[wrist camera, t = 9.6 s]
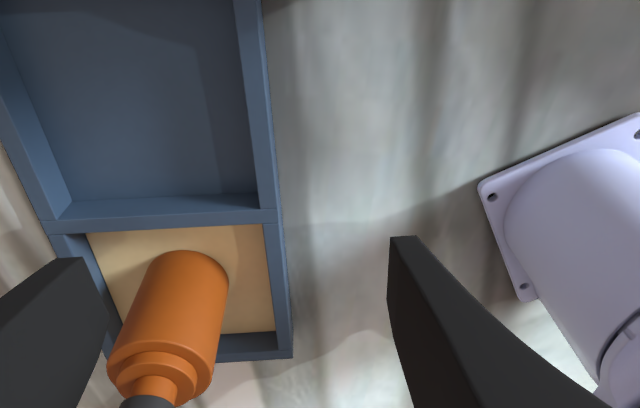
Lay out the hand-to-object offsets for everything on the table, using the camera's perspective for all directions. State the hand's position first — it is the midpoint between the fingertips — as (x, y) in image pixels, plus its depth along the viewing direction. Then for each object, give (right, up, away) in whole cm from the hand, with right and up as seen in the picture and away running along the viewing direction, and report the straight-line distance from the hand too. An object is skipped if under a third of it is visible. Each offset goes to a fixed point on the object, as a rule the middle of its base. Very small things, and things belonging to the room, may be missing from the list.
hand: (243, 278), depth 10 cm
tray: (-5, +2, +11) cm, 12 cm away
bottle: (-5, -2, +13) cm, 14 cm away
